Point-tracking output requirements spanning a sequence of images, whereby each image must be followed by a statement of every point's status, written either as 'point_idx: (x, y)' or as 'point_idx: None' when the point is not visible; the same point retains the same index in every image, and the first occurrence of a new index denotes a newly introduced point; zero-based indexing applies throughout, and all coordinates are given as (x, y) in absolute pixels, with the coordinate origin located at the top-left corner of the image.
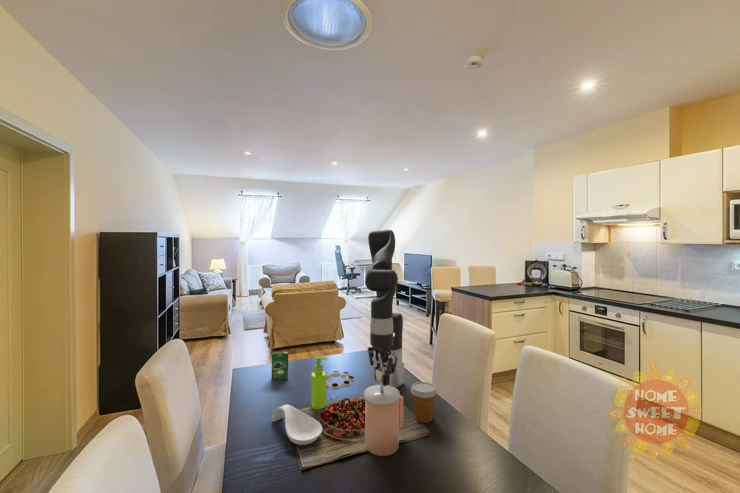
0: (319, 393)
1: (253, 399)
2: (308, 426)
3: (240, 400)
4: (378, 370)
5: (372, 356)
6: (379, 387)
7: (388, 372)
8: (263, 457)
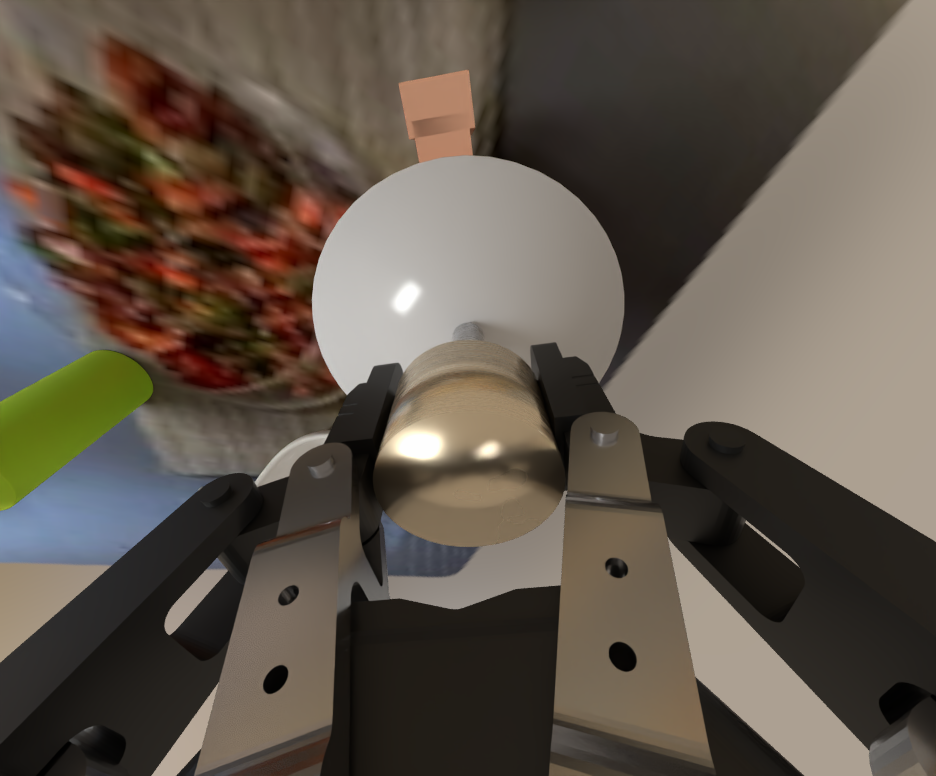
0: (96, 423)
1: (83, 535)
2: (300, 454)
3: (93, 558)
4: (479, 529)
5: (183, 685)
6: (370, 312)
7: (753, 547)
8: (390, 535)
